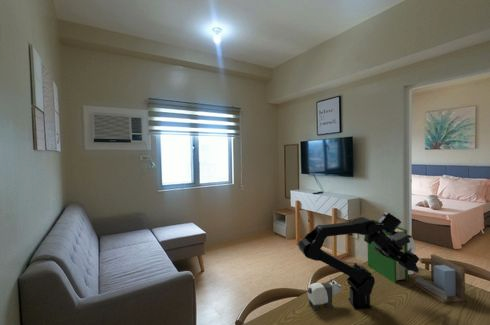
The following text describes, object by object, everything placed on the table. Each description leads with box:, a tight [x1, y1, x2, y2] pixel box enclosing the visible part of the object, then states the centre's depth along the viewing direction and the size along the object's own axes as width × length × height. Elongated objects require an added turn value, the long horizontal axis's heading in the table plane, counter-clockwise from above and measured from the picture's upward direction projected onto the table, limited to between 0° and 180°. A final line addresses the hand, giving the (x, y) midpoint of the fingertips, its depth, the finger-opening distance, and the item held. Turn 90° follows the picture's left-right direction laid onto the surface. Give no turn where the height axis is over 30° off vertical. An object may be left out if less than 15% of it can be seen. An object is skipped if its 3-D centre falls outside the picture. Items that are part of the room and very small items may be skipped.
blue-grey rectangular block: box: [433, 265, 456, 297], centre depth 101 cm, size 5×5×10 cm
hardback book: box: [366, 219, 409, 284], centre depth 121 cm, size 18×7×24 cm, turn 12°
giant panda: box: [307, 278, 343, 311], centre depth 98 cm, size 15×6×10 cm, turn 101°
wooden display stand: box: [414, 254, 466, 304], centre depth 104 cm, size 10×14×13 cm
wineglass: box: [407, 234, 416, 276], centre depth 122 cm, size 8×8×18 cm
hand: (408, 266), depth 100 cm, fingers open, 9 cm apart
